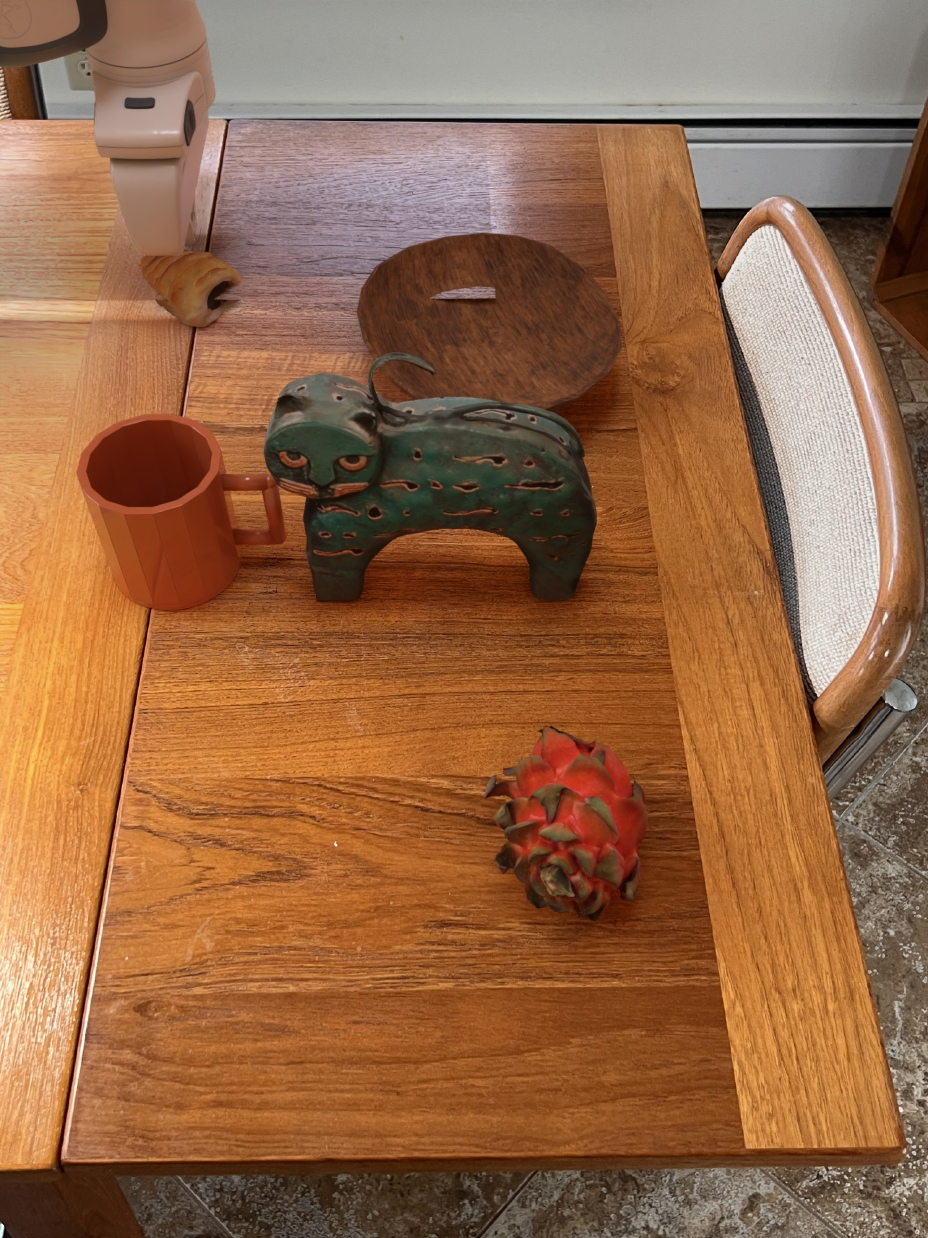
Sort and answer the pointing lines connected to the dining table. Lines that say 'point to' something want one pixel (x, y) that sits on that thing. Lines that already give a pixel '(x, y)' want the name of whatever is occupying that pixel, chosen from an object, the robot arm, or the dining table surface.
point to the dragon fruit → (571, 825)
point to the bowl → (490, 321)
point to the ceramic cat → (428, 477)
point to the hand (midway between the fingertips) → (186, 236)
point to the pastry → (191, 285)
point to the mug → (170, 509)
